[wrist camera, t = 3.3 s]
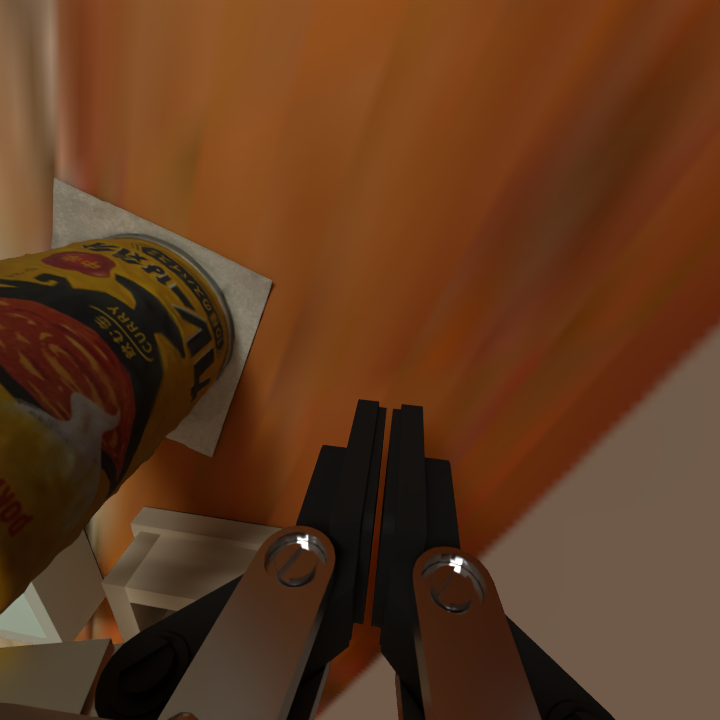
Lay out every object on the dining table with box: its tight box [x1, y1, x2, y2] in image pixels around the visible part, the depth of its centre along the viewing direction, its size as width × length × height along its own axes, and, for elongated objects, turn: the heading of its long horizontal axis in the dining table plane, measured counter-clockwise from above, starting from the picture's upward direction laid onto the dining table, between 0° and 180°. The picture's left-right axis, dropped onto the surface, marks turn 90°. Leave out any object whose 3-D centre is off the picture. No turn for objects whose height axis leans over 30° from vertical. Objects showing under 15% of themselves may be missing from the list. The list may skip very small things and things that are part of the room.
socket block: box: [101, 507, 282, 643], centre depth 19 cm, size 8×8×4 cm
